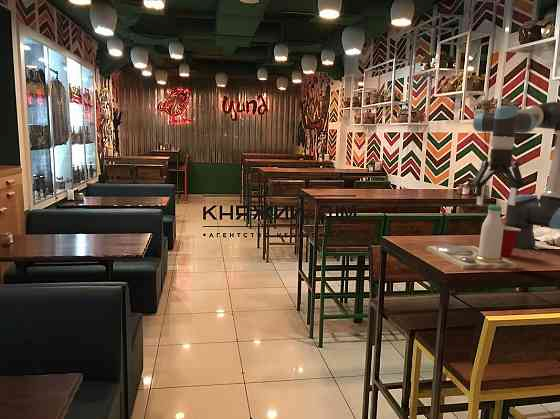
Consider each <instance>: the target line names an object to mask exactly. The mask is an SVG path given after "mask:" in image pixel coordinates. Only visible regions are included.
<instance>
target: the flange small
mask: <svg viewBox="0 0 560 419" xmlns="http://www.w3.org/2000/svg"><path fill="white" fill-rule="evenodd" d="M461 261H463V262H467V263H475V259H473V258H469V257H462V258H461Z"/></svg>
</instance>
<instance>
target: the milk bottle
mask: <svg viewBox="0 0 560 419" xmlns="http://www.w3.org/2000/svg"><path fill="white" fill-rule="evenodd" d="M487 211H488V214H487V216H486V217H485V219H484V221H483V222H482V225H481V229H480V230H481V231H480V238H479V247H478V248H479V256H480V257H482V258H486V259H499V258H500V257H501V256H500V255H501V247H502V238H503V226H504V224H503V221H502V218H501V213H502V206H500V205H488V206H487Z"/></svg>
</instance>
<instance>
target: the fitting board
mask: <svg viewBox="0 0 560 419" xmlns="http://www.w3.org/2000/svg"><path fill="white" fill-rule="evenodd" d="M436 246H437V245H426V248H425V249H426V251H428V252H430V253H432V254H434V255H436V256H438V257H439V256H440V258H441V257H442V259H443V258H444V259H443V260H446V261H447V262H449V263H451V264H453V265H455V266H457V267H459V268H460V267H461V269H463V270H469V269H471V270H473V269H474V270H479V269H480V270H481V269H487V270H488V269H517V268H518V263H515V262H512V261H510V260H508V259H505V258H503V262H501V263H489V262H484V261H480V260H477V259H475V255H476V254H479V247H478V246H475V245H461V246H462V247H466V248H469V249H471V250H472V251H473V252H472V254H471V255H452V254H446V253H443V252H440V251H438V250H436ZM462 257H469V258H473V259H475V263H467V262H463V261H461V258H462Z"/></svg>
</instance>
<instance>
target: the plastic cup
mask: <svg viewBox="0 0 560 419" xmlns="http://www.w3.org/2000/svg"><path fill="white" fill-rule="evenodd" d="M520 231H521V229H518V228H514V227H508V226H505V225H503V238H502V247H501V255H500V257H511V256H512V253H513V249H514V248H515V247H514V245H515V242H516V238H517V236H518V234H519V232H520Z"/></svg>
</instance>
